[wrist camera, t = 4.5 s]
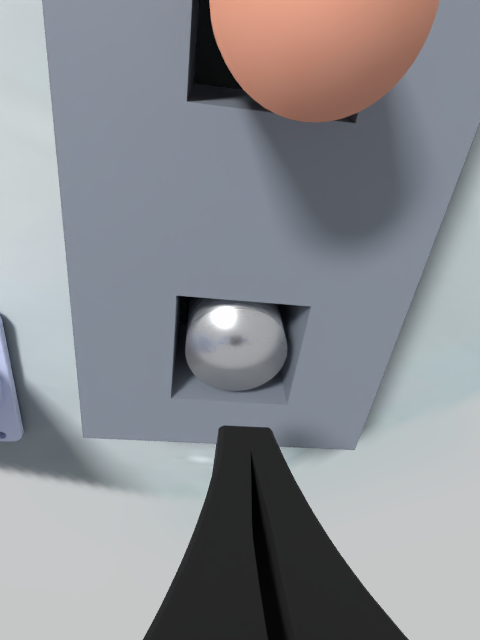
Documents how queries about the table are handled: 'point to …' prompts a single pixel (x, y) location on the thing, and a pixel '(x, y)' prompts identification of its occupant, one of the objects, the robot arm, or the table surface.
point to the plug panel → (242, 220)
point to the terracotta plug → (320, 51)
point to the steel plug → (234, 342)
